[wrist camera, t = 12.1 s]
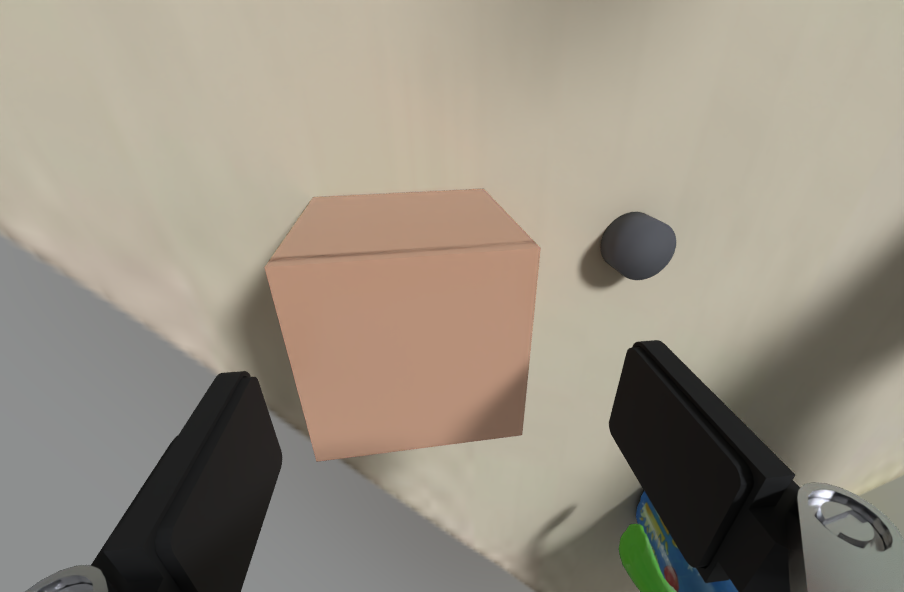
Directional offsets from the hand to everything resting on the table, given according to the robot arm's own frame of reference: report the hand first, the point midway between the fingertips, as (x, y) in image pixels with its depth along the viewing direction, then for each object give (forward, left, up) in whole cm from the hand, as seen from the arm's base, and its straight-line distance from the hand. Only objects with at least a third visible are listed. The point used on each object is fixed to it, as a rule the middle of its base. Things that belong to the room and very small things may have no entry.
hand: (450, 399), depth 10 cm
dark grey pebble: (-8, -5, -9) cm, 13 cm away
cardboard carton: (+1, +1, -9) cm, 9 cm away
